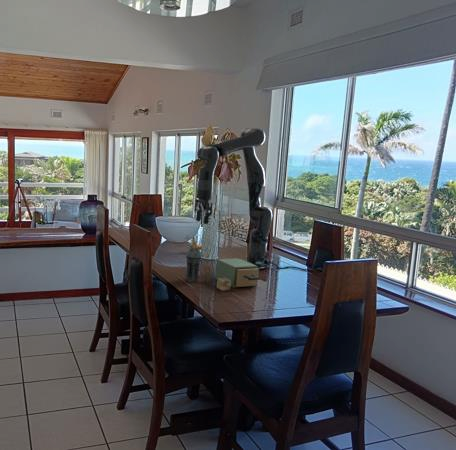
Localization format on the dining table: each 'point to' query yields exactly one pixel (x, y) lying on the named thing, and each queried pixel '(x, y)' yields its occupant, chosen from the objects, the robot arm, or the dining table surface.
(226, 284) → the block
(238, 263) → the cabinet
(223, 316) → the dining table surface
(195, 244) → the orange bird figurine
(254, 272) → the drawer
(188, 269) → the beverage cup
